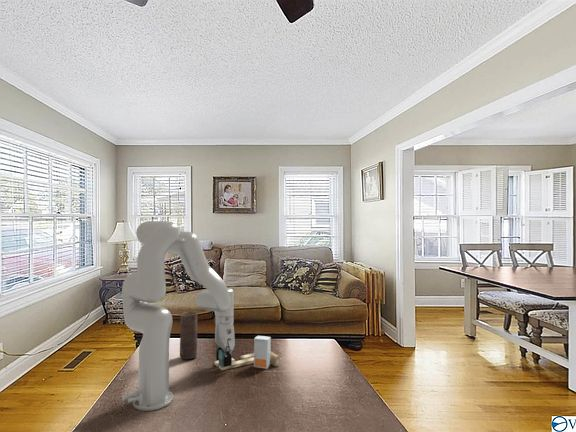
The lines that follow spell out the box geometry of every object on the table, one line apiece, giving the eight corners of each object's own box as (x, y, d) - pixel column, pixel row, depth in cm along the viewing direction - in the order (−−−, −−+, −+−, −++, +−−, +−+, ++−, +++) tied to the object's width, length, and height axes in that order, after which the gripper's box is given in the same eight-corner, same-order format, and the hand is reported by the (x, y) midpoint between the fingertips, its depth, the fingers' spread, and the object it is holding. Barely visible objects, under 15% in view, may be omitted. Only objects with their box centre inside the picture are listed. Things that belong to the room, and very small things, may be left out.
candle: (194, 361, 157) (194, 314, 157) (177, 361, 157) (177, 314, 158) (199, 355, 165) (199, 310, 165) (182, 354, 165) (183, 310, 165)
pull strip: (229, 377, 141) (230, 358, 141) (218, 367, 150) (218, 349, 150) (278, 365, 153) (279, 348, 153) (265, 357, 162) (265, 340, 162)
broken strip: (217, 366, 152) (217, 363, 152) (214, 364, 154) (214, 361, 154) (263, 356, 164) (263, 353, 164) (260, 354, 166) (260, 351, 166)
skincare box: (253, 367, 151) (253, 338, 151) (257, 363, 155) (257, 335, 156) (267, 369, 150) (267, 339, 150) (270, 365, 154) (271, 336, 154)
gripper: (241, 322, 145) (241, 368, 144) (224, 313, 159) (224, 354, 159) (224, 325, 141) (223, 372, 140) (207, 315, 155) (207, 357, 155)
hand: (223, 362), depth 150 cm, fingers open, 6 cm apart
